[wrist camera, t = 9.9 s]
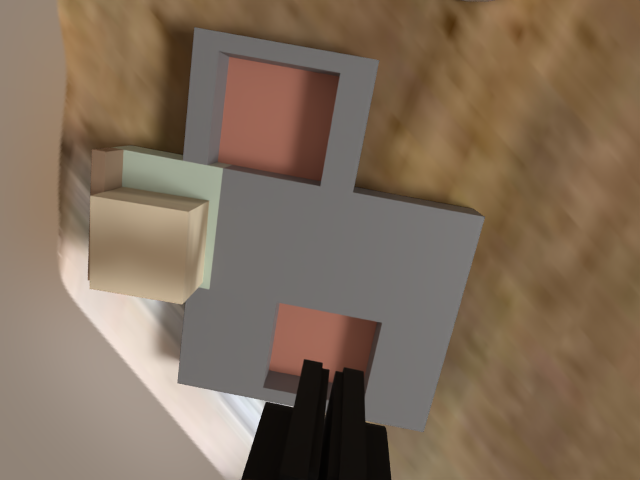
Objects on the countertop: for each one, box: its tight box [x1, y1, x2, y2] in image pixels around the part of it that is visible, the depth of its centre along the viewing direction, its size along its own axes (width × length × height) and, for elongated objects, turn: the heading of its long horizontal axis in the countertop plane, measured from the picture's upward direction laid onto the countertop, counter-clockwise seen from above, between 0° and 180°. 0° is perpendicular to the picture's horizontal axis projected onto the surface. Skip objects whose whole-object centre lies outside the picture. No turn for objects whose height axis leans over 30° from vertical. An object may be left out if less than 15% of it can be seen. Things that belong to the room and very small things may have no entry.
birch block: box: [90, 187, 209, 304], centre depth 26 cm, size 6×6×4 cm
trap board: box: [88, 27, 485, 432], centre depth 27 cm, size 23×23×4 cm
